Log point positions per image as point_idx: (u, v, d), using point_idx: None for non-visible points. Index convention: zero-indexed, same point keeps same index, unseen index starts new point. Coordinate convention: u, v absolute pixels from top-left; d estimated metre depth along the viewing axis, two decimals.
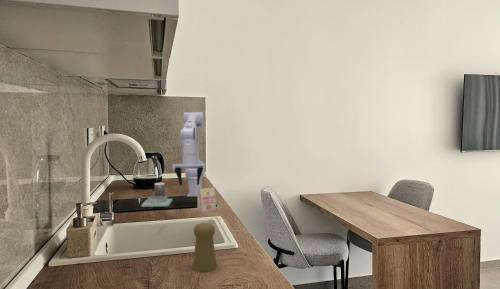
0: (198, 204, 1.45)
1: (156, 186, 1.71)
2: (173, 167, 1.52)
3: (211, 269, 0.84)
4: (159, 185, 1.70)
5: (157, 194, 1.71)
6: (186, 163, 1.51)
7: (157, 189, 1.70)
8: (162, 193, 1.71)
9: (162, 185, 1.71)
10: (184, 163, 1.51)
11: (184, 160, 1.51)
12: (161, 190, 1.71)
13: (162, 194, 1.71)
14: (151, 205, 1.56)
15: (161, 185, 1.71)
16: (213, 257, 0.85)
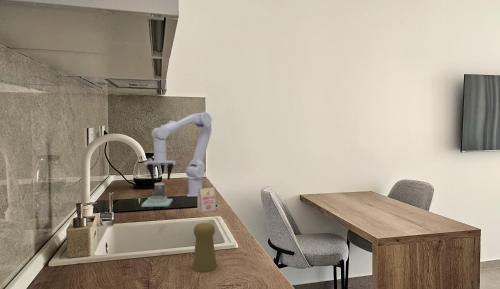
0: (198, 204, 1.45)
1: (156, 186, 1.71)
2: (145, 164, 1.67)
3: (211, 269, 0.84)
4: (159, 185, 1.70)
5: (157, 194, 1.71)
6: (157, 160, 1.66)
7: (157, 189, 1.70)
8: (162, 193, 1.71)
9: (162, 185, 1.71)
10: (155, 160, 1.66)
11: (155, 157, 1.66)
12: (161, 190, 1.71)
13: (162, 194, 1.71)
14: (151, 205, 1.56)
15: (161, 185, 1.71)
16: (213, 257, 0.85)
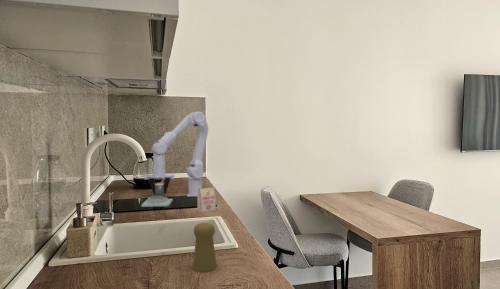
0: (198, 204, 1.45)
1: (156, 186, 1.71)
2: (145, 178, 1.71)
3: (211, 269, 0.84)
4: (159, 185, 1.70)
5: (157, 194, 1.71)
6: (156, 174, 1.70)
7: (157, 189, 1.70)
8: (162, 193, 1.71)
9: (162, 185, 1.71)
10: (155, 174, 1.70)
11: (155, 172, 1.70)
12: (161, 190, 1.71)
13: (162, 194, 1.71)
14: (151, 205, 1.56)
15: (161, 185, 1.71)
16: (213, 257, 0.85)
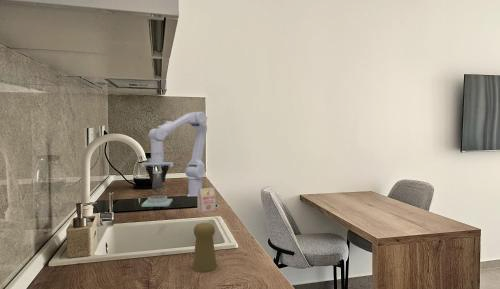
0: (198, 204, 1.45)
1: (154, 174, 1.63)
2: (142, 165, 1.63)
3: (211, 269, 0.84)
4: (157, 173, 1.63)
5: (155, 182, 1.63)
6: (154, 161, 1.62)
7: (155, 177, 1.63)
8: (160, 181, 1.63)
9: (160, 173, 1.63)
10: (152, 161, 1.62)
11: (152, 159, 1.62)
12: (159, 178, 1.63)
13: (160, 183, 1.64)
14: (151, 205, 1.56)
15: (159, 173, 1.63)
16: (213, 257, 0.85)
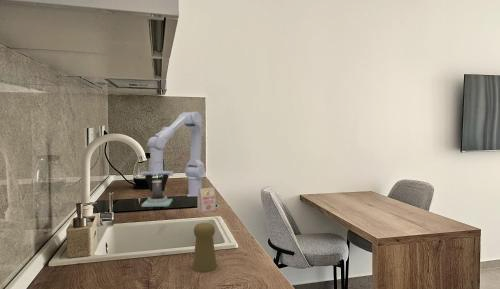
0: (198, 204, 1.45)
1: (153, 183, 1.60)
2: (141, 174, 1.60)
3: (211, 269, 0.84)
4: (157, 182, 1.59)
5: (154, 192, 1.60)
6: (153, 171, 1.59)
7: (154, 186, 1.60)
8: (160, 191, 1.60)
9: (160, 182, 1.60)
10: (152, 171, 1.59)
11: (152, 168, 1.59)
12: (159, 188, 1.60)
13: (160, 192, 1.60)
14: (151, 205, 1.56)
15: (159, 182, 1.60)
16: (213, 257, 0.85)
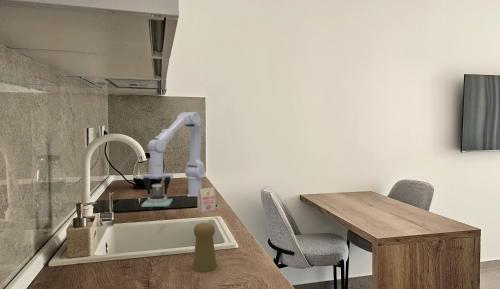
0: (198, 204, 1.45)
1: (153, 188, 1.60)
2: (141, 177, 1.60)
3: (211, 269, 0.84)
4: (157, 186, 1.59)
5: (155, 196, 1.60)
6: (154, 174, 1.59)
7: (154, 191, 1.60)
8: (160, 195, 1.60)
9: (160, 186, 1.60)
10: (152, 174, 1.59)
11: (152, 171, 1.59)
12: (159, 192, 1.60)
13: (160, 196, 1.60)
14: (151, 205, 1.56)
15: (159, 186, 1.60)
16: (213, 257, 0.85)
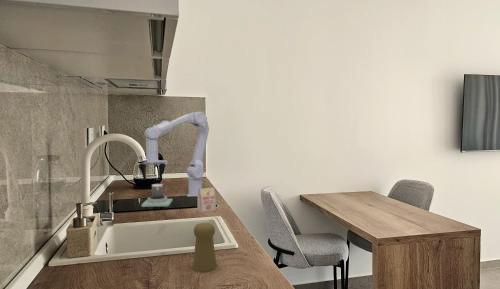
0: (198, 204, 1.45)
1: (153, 188, 1.60)
2: (137, 163, 1.69)
3: (211, 269, 0.84)
4: (157, 186, 1.59)
5: (155, 196, 1.60)
6: (149, 159, 1.67)
7: (155, 191, 1.60)
8: (160, 195, 1.60)
9: (160, 186, 1.60)
10: (147, 160, 1.68)
11: (147, 157, 1.68)
12: (159, 192, 1.60)
13: (160, 196, 1.60)
14: (151, 205, 1.56)
15: (159, 186, 1.60)
16: (213, 257, 0.85)
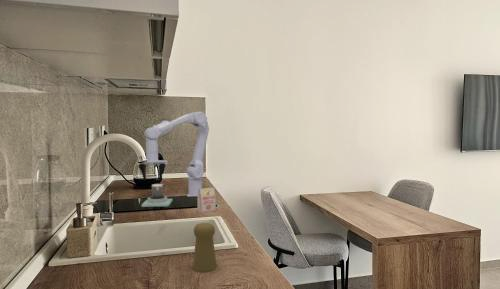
0: (198, 204, 1.45)
1: (153, 188, 1.60)
2: (137, 163, 1.69)
3: (211, 269, 0.84)
4: (157, 186, 1.59)
5: (155, 196, 1.60)
6: (149, 159, 1.67)
7: (155, 191, 1.60)
8: (160, 195, 1.60)
9: (160, 186, 1.60)
10: (147, 159, 1.68)
11: (147, 157, 1.68)
12: (159, 192, 1.60)
13: (160, 196, 1.60)
14: (151, 205, 1.56)
15: (159, 186, 1.60)
16: (213, 257, 0.85)
